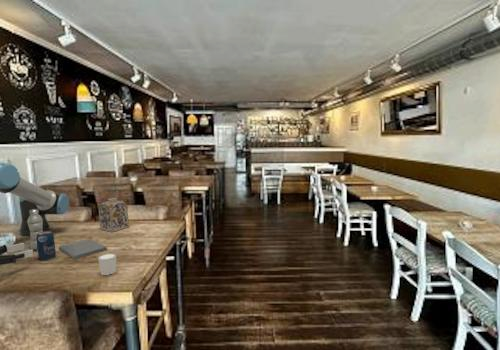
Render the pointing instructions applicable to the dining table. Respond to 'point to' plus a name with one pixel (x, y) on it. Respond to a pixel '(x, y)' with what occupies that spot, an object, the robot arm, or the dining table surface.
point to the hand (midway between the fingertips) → (28, 249)
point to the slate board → (82, 248)
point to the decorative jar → (113, 215)
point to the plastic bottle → (34, 227)
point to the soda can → (46, 245)
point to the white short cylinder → (107, 264)
